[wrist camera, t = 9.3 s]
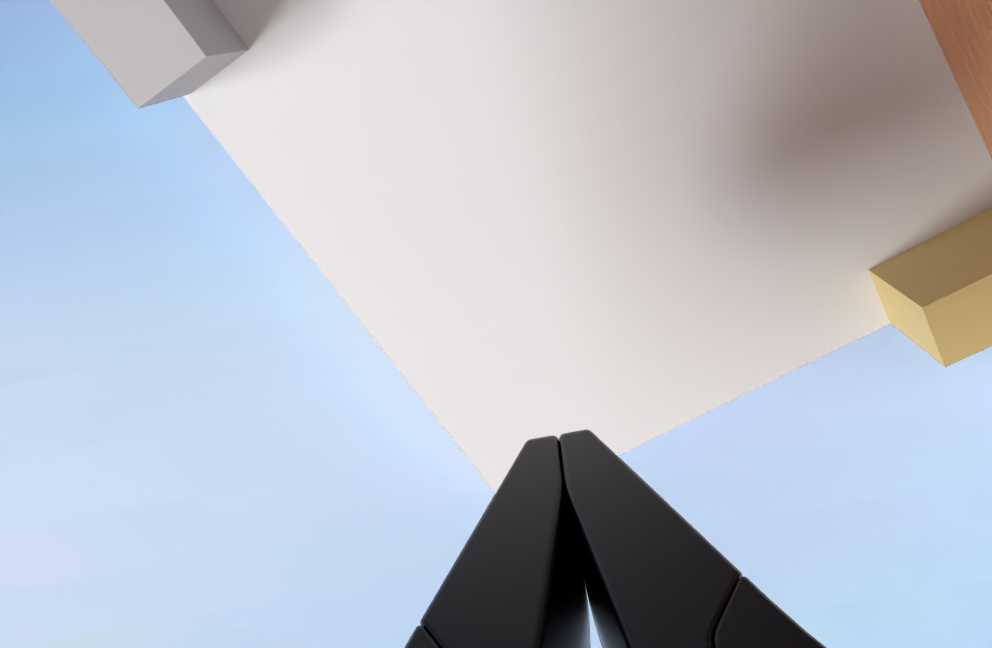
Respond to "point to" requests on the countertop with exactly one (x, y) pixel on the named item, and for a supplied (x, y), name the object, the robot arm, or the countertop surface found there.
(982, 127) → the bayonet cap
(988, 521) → the countertop surface
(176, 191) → the countertop surface
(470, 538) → the robot arm
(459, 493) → the countertop surface
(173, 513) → the countertop surface
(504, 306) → the coupling board
